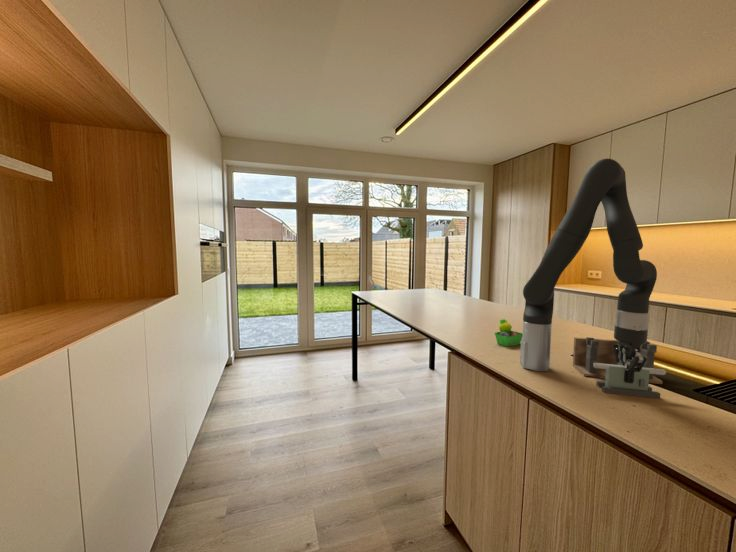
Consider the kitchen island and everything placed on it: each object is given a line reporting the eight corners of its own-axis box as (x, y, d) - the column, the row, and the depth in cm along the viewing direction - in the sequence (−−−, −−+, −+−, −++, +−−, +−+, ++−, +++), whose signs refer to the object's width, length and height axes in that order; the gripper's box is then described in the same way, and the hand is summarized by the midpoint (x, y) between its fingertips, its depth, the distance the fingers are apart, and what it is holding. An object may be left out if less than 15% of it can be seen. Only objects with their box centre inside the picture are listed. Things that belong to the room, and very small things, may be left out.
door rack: (603, 392, 90) (604, 387, 90) (596, 385, 95) (596, 380, 95) (660, 398, 86) (660, 393, 86) (649, 390, 91) (649, 386, 91)
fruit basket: (506, 348, 132) (507, 323, 131) (491, 342, 140) (491, 319, 139) (524, 344, 136) (525, 321, 135) (508, 339, 144) (509, 317, 143)
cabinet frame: (583, 376, 101) (585, 340, 100) (572, 365, 111) (574, 333, 110) (662, 384, 95) (665, 346, 94) (643, 372, 105) (646, 337, 104)
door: (595, 389, 91) (597, 365, 90) (591, 385, 94) (593, 361, 93) (667, 397, 86) (670, 372, 85) (661, 393, 89) (663, 368, 88)
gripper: (605, 319, 96) (601, 370, 98) (628, 330, 83) (623, 389, 85) (633, 321, 94) (628, 373, 95) (661, 332, 81) (655, 393, 82)
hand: (626, 380), depth 90 cm, fingers closed on door
